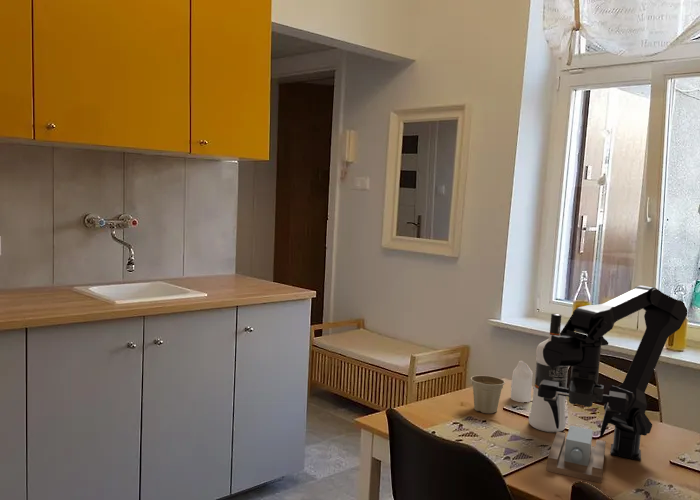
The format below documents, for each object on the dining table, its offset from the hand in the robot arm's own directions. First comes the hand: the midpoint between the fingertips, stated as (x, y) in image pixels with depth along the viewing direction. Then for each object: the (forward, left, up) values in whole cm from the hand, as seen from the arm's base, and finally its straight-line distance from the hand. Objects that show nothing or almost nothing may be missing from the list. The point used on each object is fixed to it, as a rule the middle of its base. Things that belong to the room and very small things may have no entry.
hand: (579, 432), depth 138 cm
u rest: (0, 0, -7) cm, 7 cm away
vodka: (-20, -9, -7) cm, 23 cm away
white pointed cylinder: (-40, -19, -7) cm, 45 cm away
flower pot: (-24, -26, -7) cm, 36 cm away
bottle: (+1, 0, -6) cm, 6 cm away
